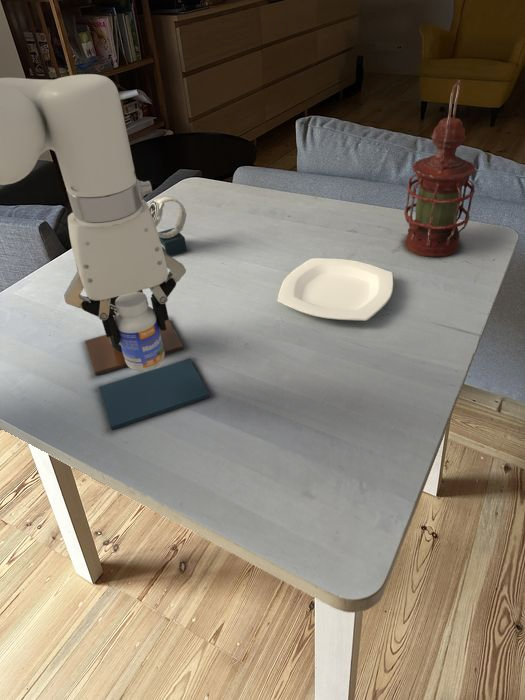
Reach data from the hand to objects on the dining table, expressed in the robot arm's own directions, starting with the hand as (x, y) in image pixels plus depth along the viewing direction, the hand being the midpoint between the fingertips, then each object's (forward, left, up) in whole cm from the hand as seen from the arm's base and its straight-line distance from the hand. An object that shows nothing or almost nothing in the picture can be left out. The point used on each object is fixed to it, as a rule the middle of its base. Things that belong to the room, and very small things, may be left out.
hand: (138, 330), depth 70 cm
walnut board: (0, +13, -11) cm, 17 cm away
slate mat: (0, 0, -11) cm, 11 cm away
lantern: (+62, +17, -11) cm, 65 cm away
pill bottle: (0, 0, -5) cm, 5 cm away
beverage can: (0, +13, -11) cm, 17 cm away
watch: (+15, +42, -11) cm, 46 cm away
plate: (+36, +10, -11) cm, 39 cm away
